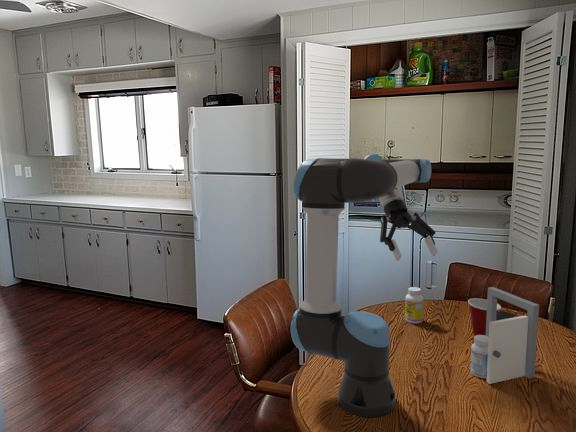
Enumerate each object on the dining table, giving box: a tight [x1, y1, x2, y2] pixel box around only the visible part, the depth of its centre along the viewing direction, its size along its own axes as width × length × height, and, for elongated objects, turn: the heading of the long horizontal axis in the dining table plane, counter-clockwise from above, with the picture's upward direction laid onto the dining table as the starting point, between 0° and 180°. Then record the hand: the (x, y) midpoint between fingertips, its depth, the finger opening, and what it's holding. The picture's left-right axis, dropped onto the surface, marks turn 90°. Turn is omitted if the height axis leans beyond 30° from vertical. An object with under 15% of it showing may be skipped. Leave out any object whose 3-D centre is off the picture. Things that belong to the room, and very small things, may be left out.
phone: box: [496, 309, 518, 321], centre depth 172 cm, size 8×1×15 cm
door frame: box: [486, 286, 540, 380], centre depth 135 cm, size 2×18×22 cm, turn 18°
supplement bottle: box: [404, 286, 424, 325], centre depth 171 cm, size 7×7×13 cm
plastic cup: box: [467, 297, 502, 337], centre depth 157 cm, size 11×11×12 cm
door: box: [486, 315, 528, 385], centre depth 126 cm, size 13×2×18 cm, turn 108°
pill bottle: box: [469, 335, 489, 379], centre depth 131 cm, size 6×6×11 cm
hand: (417, 256), depth 144 cm, fingers open, 13 cm apart
